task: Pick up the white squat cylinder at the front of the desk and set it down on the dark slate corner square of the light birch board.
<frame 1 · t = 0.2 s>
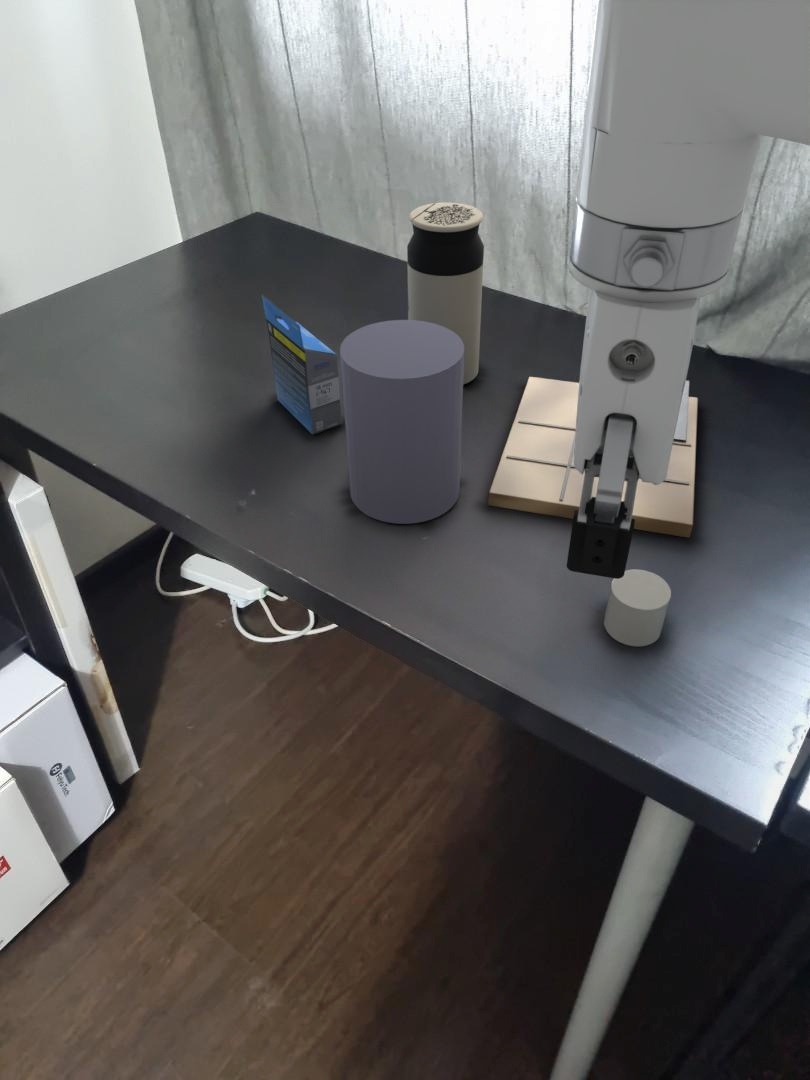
hand: (602, 519, 50), 15 cm above the table, tool pointing down, fingers open, 9 cm apart
blue product box: (308, 413, 89), on the table
container: (404, 493, 78), on the table
white squat cylinder: (632, 625, 65), on the table
travel mug: (443, 374, 95), on the table
board: (599, 454, 82), on the table
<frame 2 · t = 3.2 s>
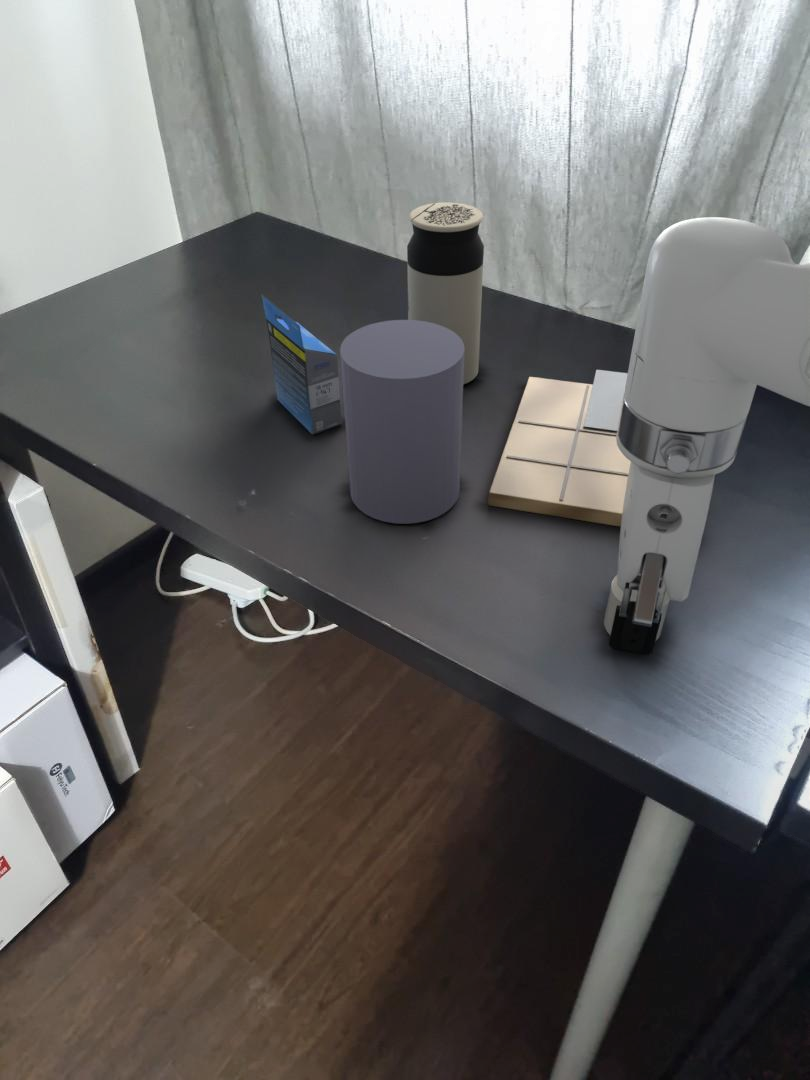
hand: (633, 622, 64), 0 cm above the table, tool pointing down, fingers closed on white squat cylinder, 4 cm apart
white squat cylinder: (632, 625, 65), on the table, touching gripper
everything else where it was.
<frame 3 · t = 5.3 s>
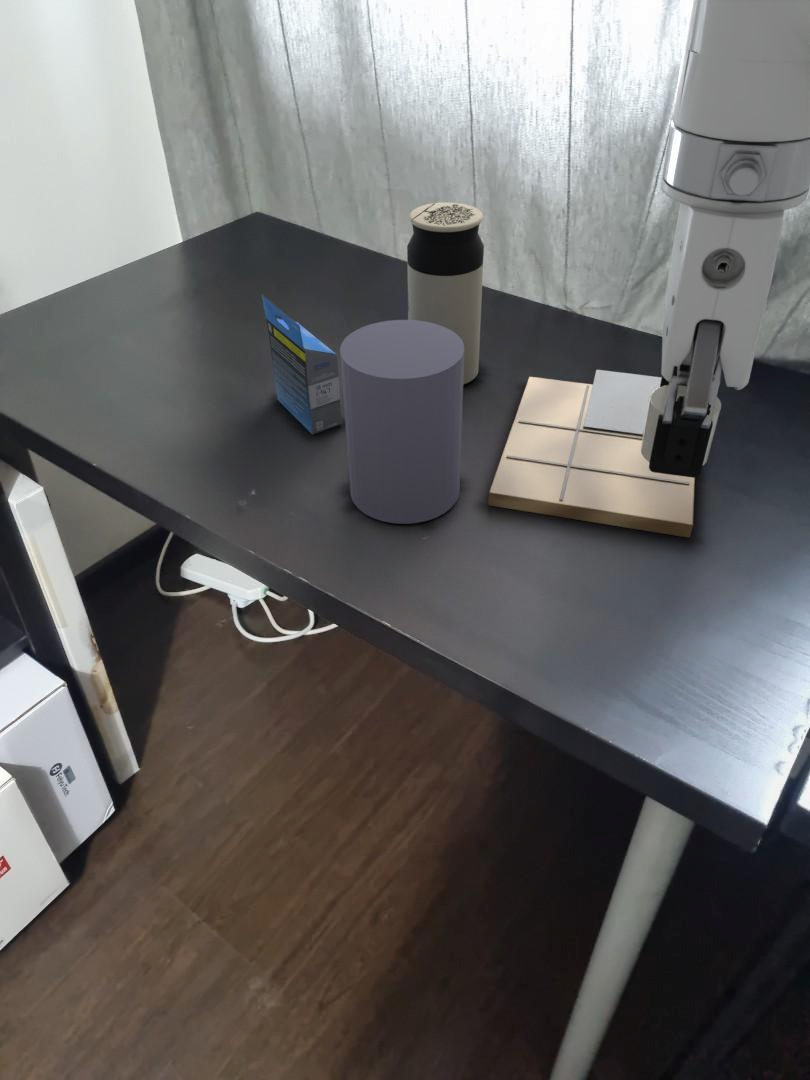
hand: (675, 448, 55), 16 cm above the table, tool pointing down, fingers closed on white squat cylinder, 4 cm apart
white squat cylinder: (674, 452, 55), point 15 cm above the table, touching gripper
everything else where it was.
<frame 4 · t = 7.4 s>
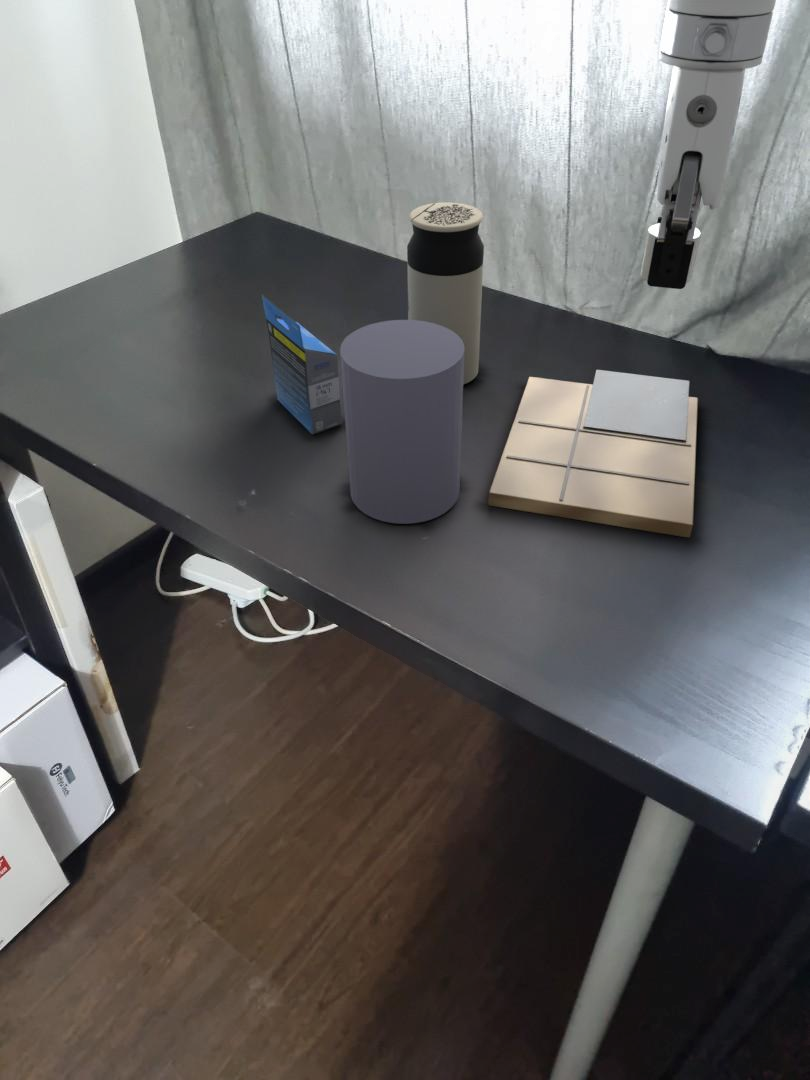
hand: (667, 272, 73), 17 cm above the table, tool pointing down, fingers closed on white squat cylinder, 4 cm apart
white squat cylinder: (665, 276, 74), point 17 cm above the table, touching gripper
everything else where it was.
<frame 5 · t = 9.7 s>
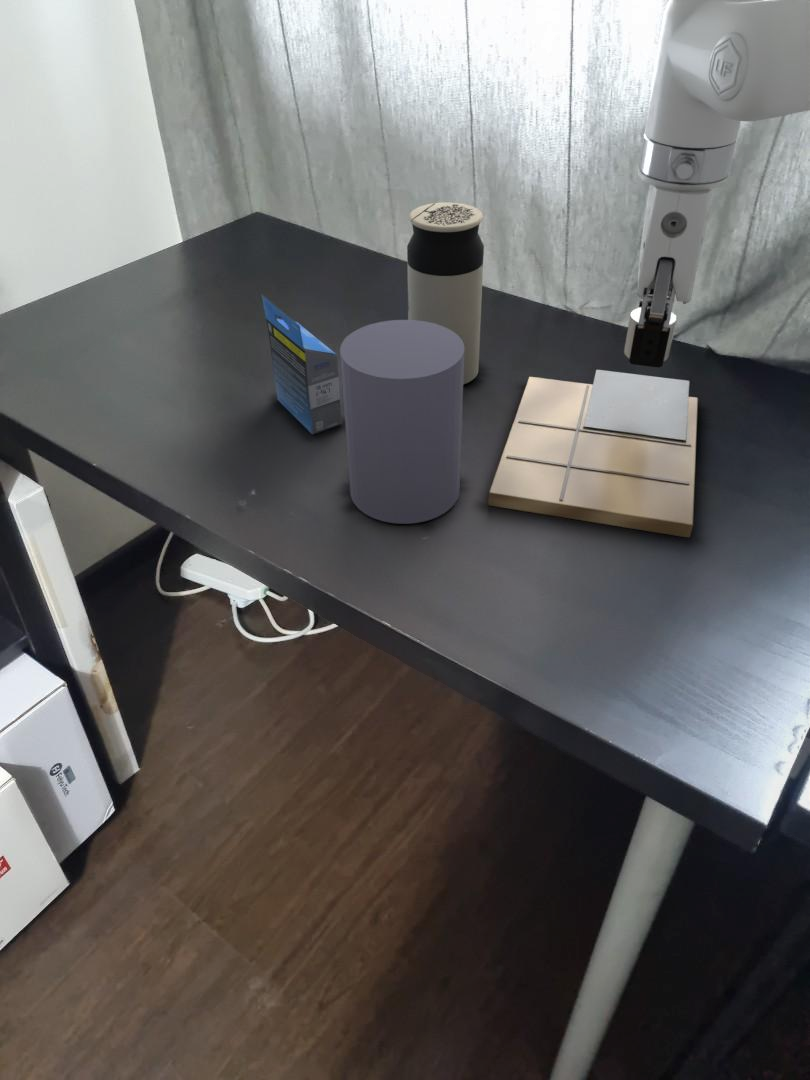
hand: (647, 350, 83), 8 cm above the table, tool pointing down, fingers closed on white squat cylinder, 4 cm apart
white squat cylinder: (646, 353, 83), point 7 cm above the table, touching gripper
everything else where it was.
when the fingers open (2 cm above the table, at t = 11.4 s): white squat cylinder stays where it is, resting on board.
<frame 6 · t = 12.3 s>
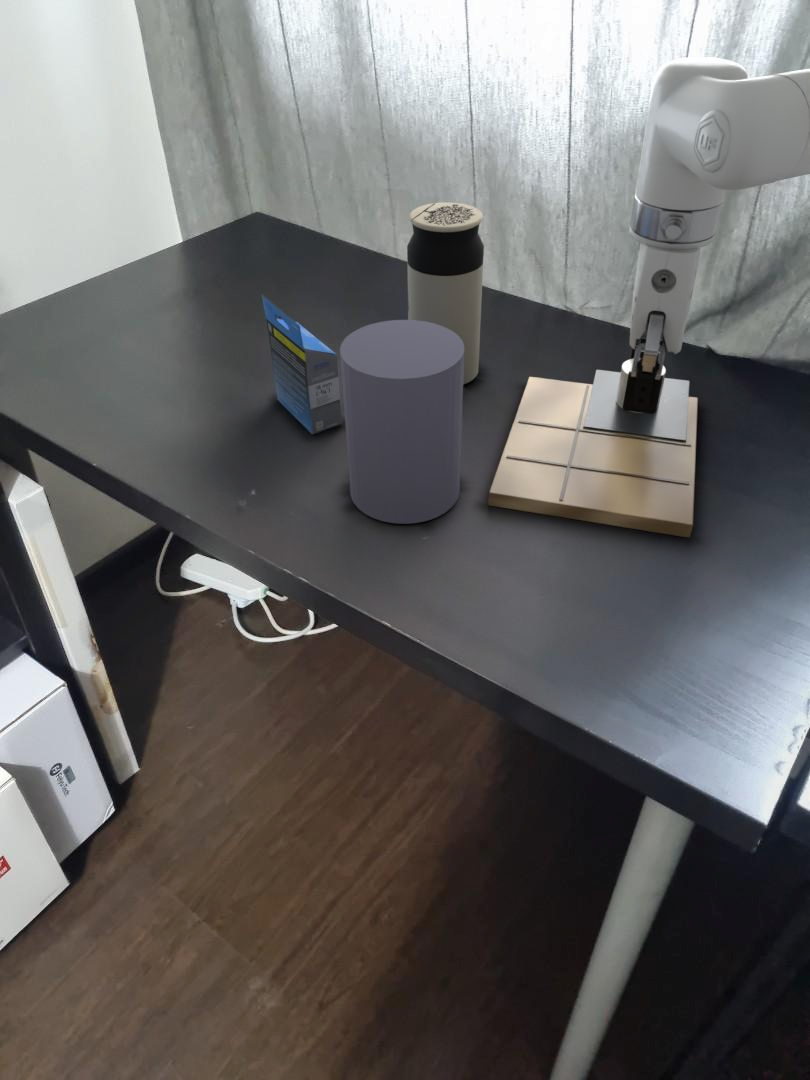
hand: (642, 386, 85), 4 cm above the table, tool pointing down, fingers open, 9 cm apart
white squat cylinder: (637, 402, 86), point 2 cm above the table, touching board
everything else where it was.
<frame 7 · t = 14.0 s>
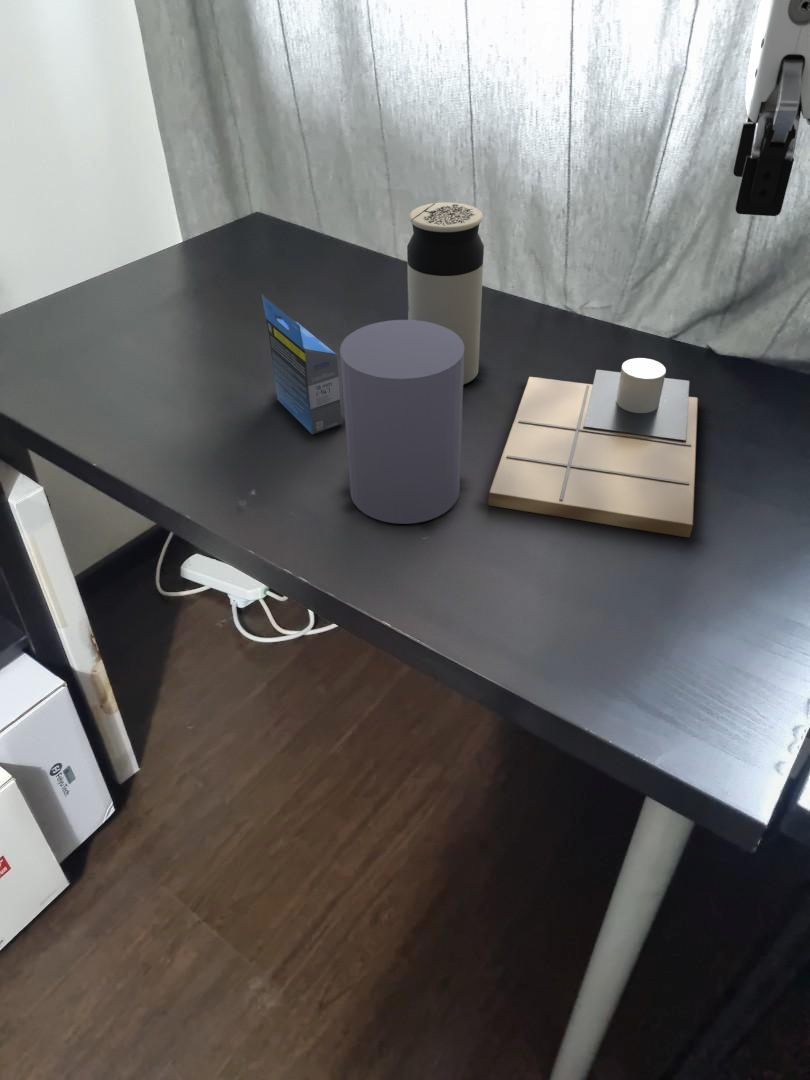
hand: (754, 194, 66), 25 cm above the table, tool pointing down, fingers open, 9 cm apart
nothing on the table moved.
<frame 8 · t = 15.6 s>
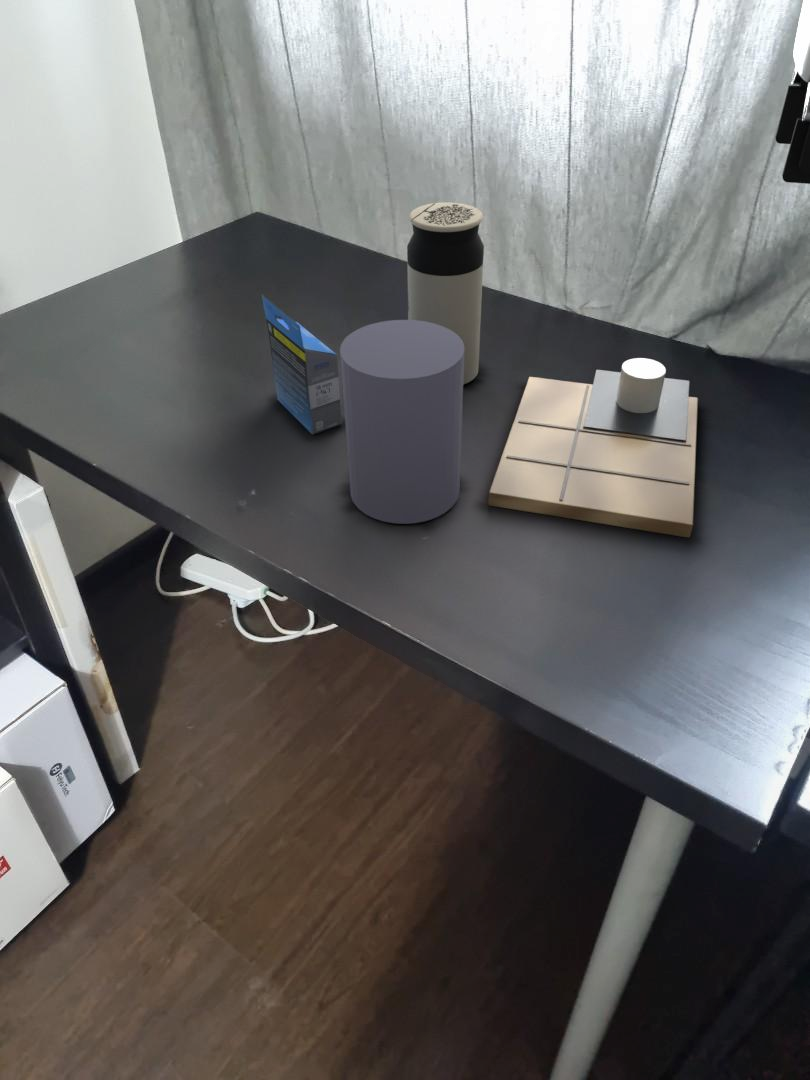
hand: (800, 161, 62), 28 cm above the table, tool pointing down, fingers open, 9 cm apart
nothing on the table moved.
at the end: white squat cylinder inside the target area on the board (0.1 cm from its centre), point 1.7 cm above the board's base; white squat cylinder tilted 0°; the gripper is holding nothing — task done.
